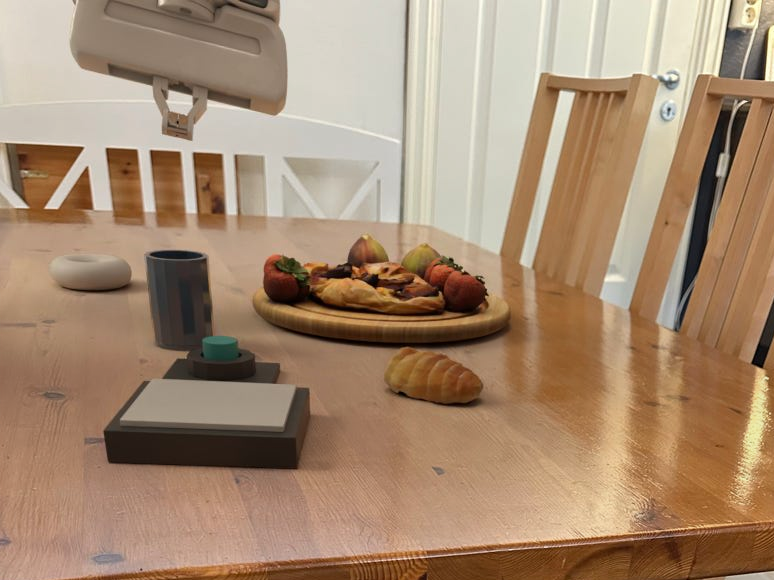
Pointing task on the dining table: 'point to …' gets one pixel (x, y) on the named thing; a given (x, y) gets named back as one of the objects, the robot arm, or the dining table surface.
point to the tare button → (220, 348)
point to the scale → (210, 424)
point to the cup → (179, 298)
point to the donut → (90, 271)
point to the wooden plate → (380, 297)
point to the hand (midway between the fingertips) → (177, 135)
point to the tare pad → (223, 369)
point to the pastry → (431, 377)
